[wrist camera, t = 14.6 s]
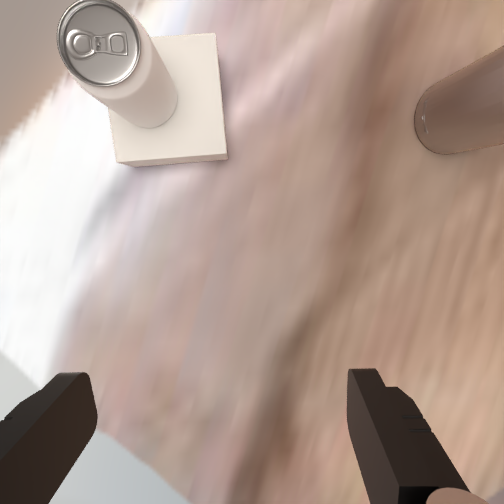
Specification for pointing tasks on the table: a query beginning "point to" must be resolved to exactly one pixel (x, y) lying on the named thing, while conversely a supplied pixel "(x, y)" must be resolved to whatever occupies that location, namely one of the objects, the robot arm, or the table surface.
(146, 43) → the can
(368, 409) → the robot arm
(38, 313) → the table surface
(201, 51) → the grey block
